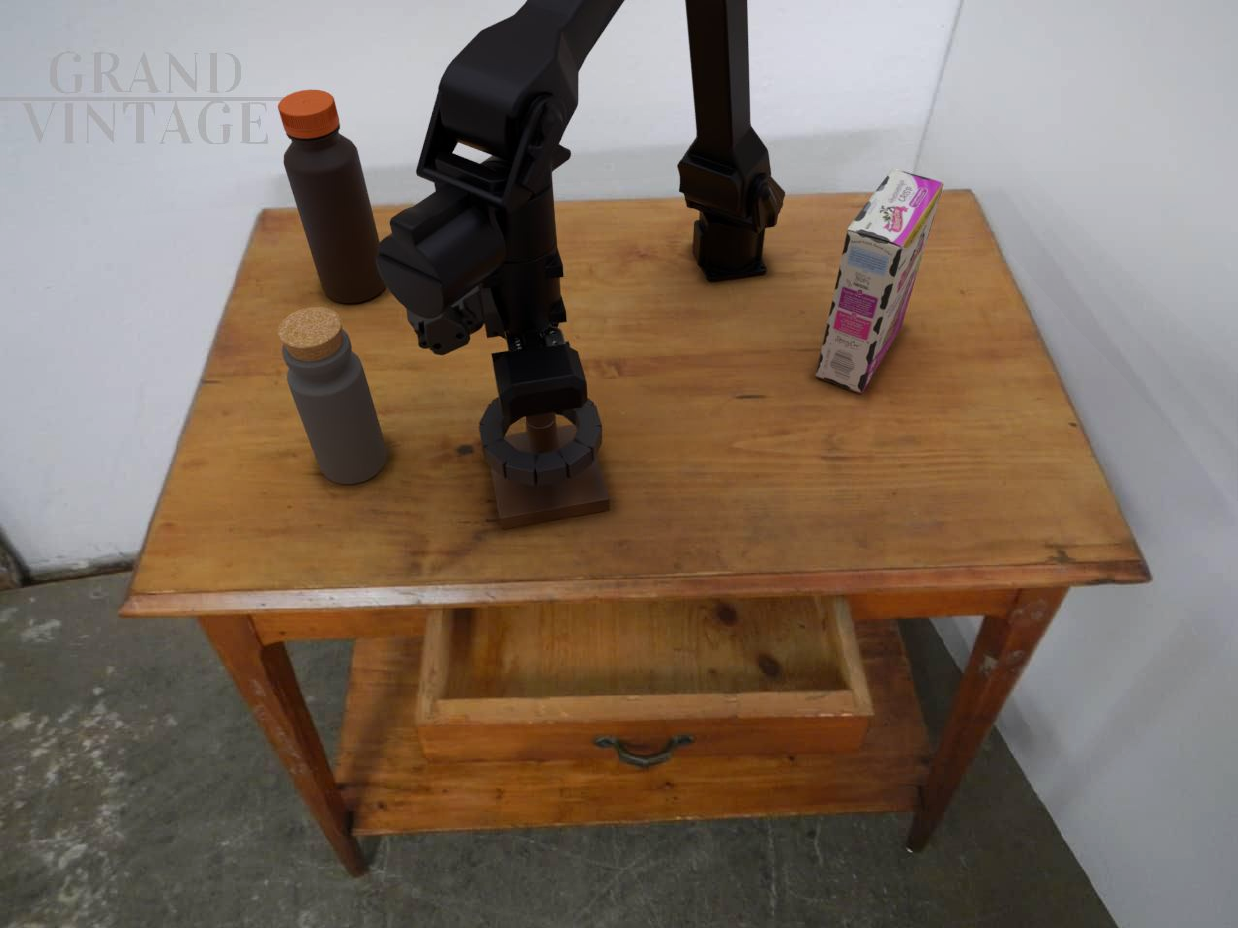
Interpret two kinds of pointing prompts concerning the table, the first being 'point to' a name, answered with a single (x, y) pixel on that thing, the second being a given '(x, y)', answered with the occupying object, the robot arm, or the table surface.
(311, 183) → the vinegar
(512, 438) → the peg stand
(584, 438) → the ring
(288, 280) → the table surface
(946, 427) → the table surface
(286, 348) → the bottle
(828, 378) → the candy bar box
